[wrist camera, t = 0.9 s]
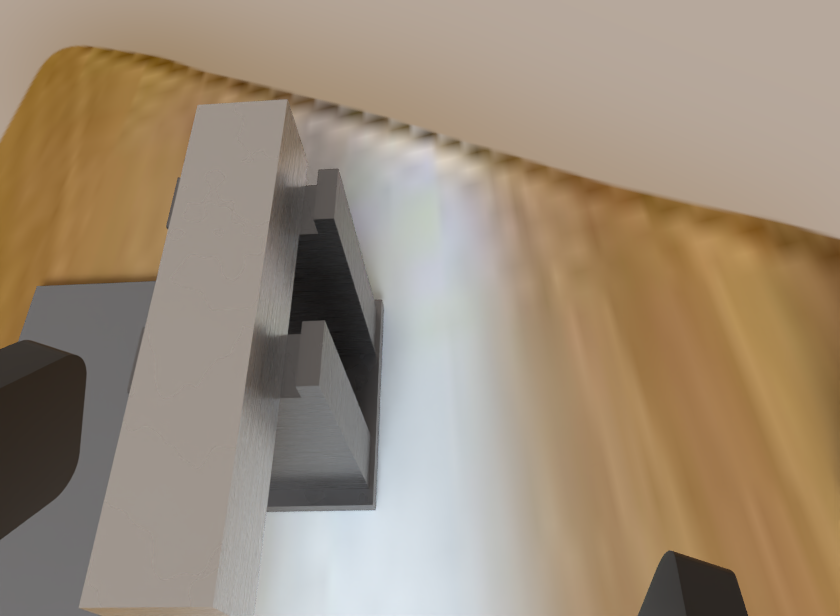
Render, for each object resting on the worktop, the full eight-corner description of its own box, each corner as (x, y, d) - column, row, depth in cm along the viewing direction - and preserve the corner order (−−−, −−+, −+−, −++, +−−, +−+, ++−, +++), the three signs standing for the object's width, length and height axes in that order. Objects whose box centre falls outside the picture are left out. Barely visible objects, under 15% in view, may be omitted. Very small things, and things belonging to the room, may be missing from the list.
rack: (375, 509, 34) (323, 406, 24) (228, 512, 34) (116, 412, 24) (383, 307, 39) (344, 154, 29) (257, 312, 40) (176, 164, 30)
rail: (252, 627, 21) (212, 606, 18) (136, 627, 21) (78, 607, 18) (307, 163, 31) (287, 99, 28) (226, 167, 31) (197, 104, 28)
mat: (153, 705, 30) (147, 704, 30) (-95, 704, 31) (-104, 703, 31) (227, 284, 41) (224, 278, 41) (42, 291, 42) (36, 286, 42)
